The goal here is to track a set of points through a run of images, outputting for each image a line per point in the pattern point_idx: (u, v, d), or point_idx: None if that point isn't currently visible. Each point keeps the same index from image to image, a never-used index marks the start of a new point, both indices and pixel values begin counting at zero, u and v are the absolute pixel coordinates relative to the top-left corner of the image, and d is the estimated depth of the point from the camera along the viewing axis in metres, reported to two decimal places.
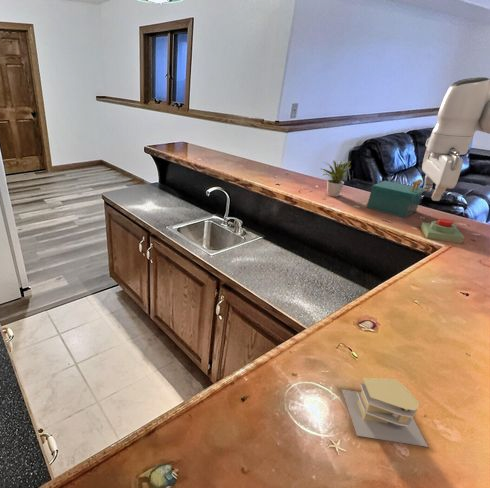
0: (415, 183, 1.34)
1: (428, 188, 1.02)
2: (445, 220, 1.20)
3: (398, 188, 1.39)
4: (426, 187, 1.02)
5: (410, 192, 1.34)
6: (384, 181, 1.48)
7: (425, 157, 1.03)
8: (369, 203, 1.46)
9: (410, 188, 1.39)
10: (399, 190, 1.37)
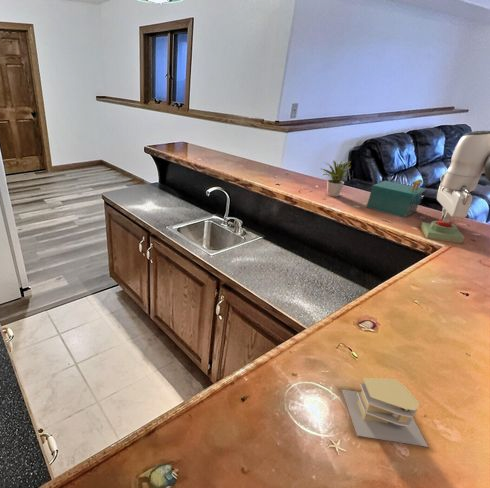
0: (415, 183, 1.34)
1: None
2: None
3: (398, 188, 1.39)
4: None
5: (410, 192, 1.34)
6: (384, 181, 1.48)
7: (439, 189, 1.24)
8: (369, 203, 1.46)
9: (410, 188, 1.39)
10: (399, 190, 1.37)
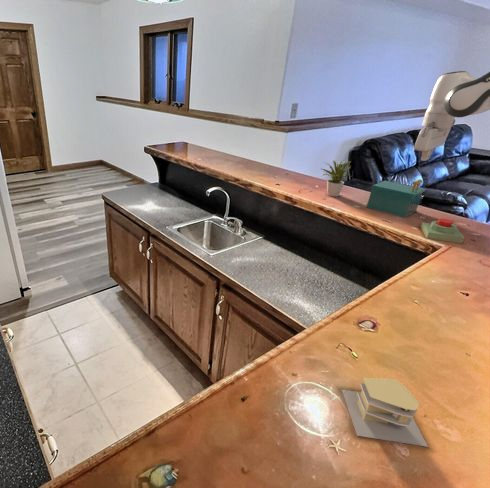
0: (415, 183, 1.34)
1: None
2: (445, 220, 1.20)
3: (398, 188, 1.39)
4: None
5: (410, 192, 1.34)
6: (384, 181, 1.48)
7: None
8: (369, 203, 1.46)
9: (410, 188, 1.39)
10: (399, 190, 1.37)
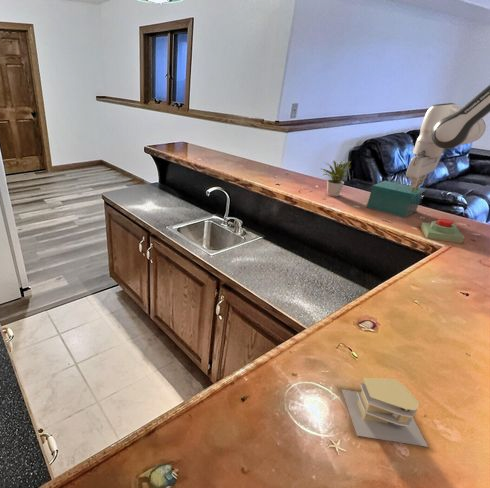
0: None
1: None
2: (445, 220, 1.20)
3: (398, 188, 1.39)
4: None
5: (410, 192, 1.34)
6: (384, 181, 1.48)
7: None
8: (369, 203, 1.46)
9: (410, 188, 1.39)
10: (399, 190, 1.37)
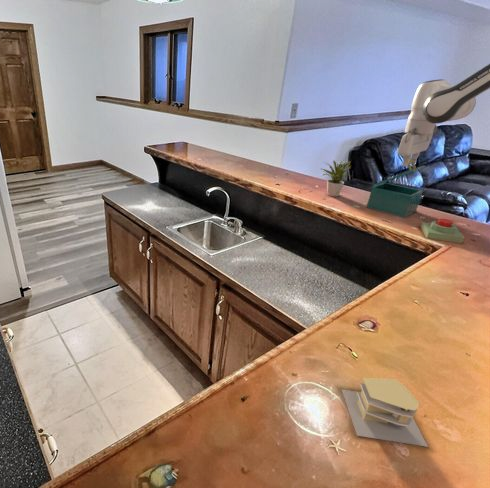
0: None
1: None
2: (445, 220, 1.20)
3: None
4: None
5: (408, 171, 1.33)
6: None
7: None
8: (369, 203, 1.46)
9: None
10: (397, 175, 1.36)
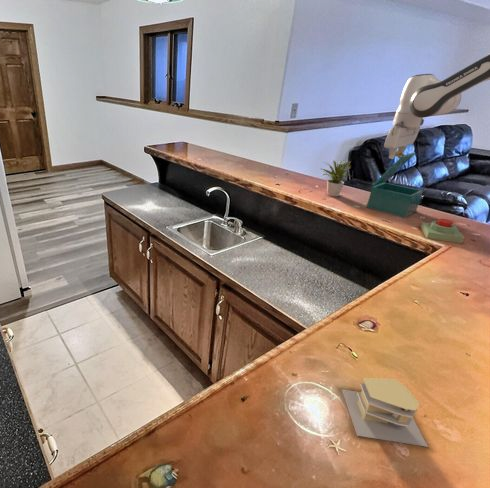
0: None
1: None
2: (445, 220, 1.20)
3: None
4: None
5: None
6: (383, 180, 1.48)
7: None
8: (369, 203, 1.46)
9: None
10: (391, 167, 1.37)
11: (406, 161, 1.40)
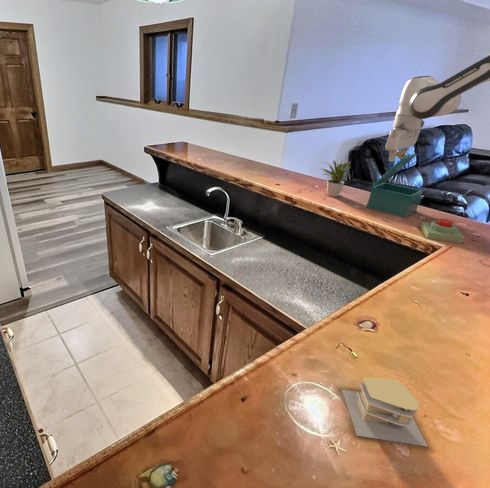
0: (396, 153, 1.36)
1: (401, 156, 1.41)
2: (445, 220, 1.20)
3: None
4: None
5: None
6: (383, 180, 1.48)
7: None
8: (369, 203, 1.46)
9: None
10: (392, 167, 1.36)
11: (407, 162, 1.40)
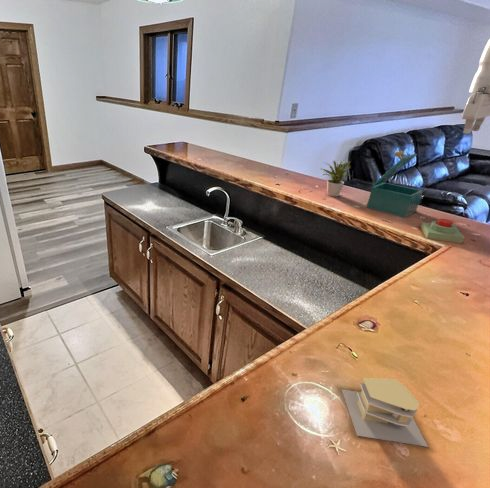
0: (396, 153, 1.36)
1: (475, 128, 1.19)
2: (445, 220, 1.20)
3: None
4: (473, 127, 1.20)
5: None
6: (383, 180, 1.48)
7: None
8: (369, 203, 1.46)
9: None
10: (392, 167, 1.36)
11: (407, 162, 1.40)
